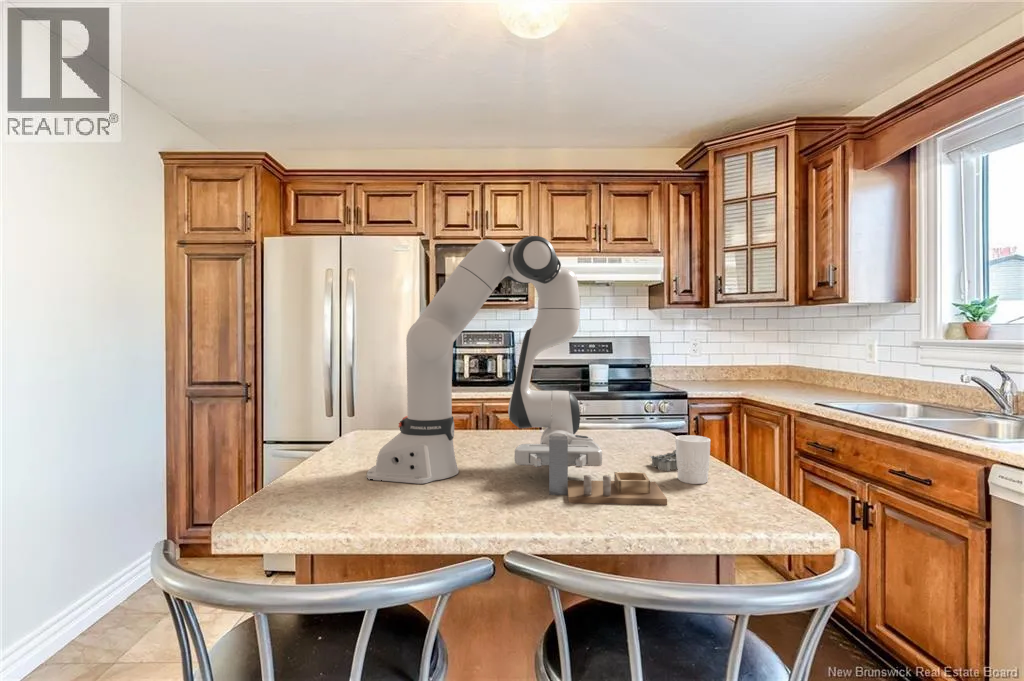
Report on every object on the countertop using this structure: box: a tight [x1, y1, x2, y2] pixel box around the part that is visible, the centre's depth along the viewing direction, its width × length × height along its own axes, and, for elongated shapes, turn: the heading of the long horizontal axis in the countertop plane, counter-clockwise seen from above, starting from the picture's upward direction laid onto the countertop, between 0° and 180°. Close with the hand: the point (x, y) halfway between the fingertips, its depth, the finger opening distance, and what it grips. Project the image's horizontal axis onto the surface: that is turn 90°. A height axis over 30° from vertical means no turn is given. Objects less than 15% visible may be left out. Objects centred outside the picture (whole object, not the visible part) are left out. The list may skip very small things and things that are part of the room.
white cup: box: [674, 434, 711, 485], centre depth 121 cm, size 8×8×10 cm
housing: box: [567, 471, 668, 506], centre depth 110 cm, size 20×12×5 cm, turn 86°
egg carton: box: [650, 449, 678, 472], centre depth 133 cm, size 11×8×4 cm
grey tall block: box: [548, 436, 569, 496], centre depth 112 cm, size 4×4×12 cm
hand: (558, 463), depth 111 cm, fingers open, 8 cm apart
